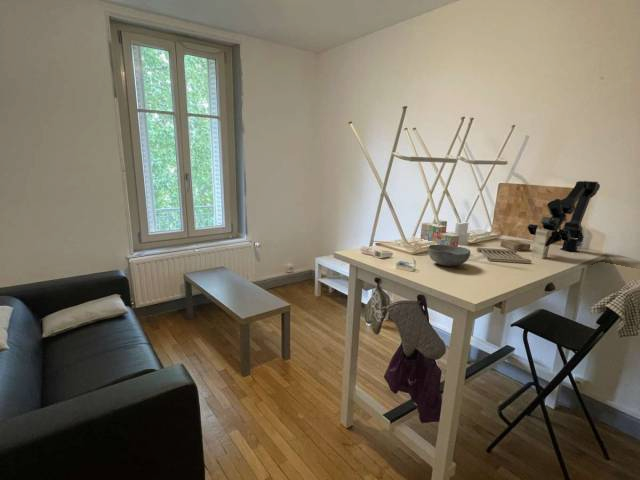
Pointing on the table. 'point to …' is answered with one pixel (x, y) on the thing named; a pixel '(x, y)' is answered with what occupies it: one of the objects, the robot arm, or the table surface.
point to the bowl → (448, 254)
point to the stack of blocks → (438, 234)
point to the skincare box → (441, 223)
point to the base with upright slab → (462, 233)
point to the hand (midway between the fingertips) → (540, 244)
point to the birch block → (541, 243)
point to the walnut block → (515, 245)
